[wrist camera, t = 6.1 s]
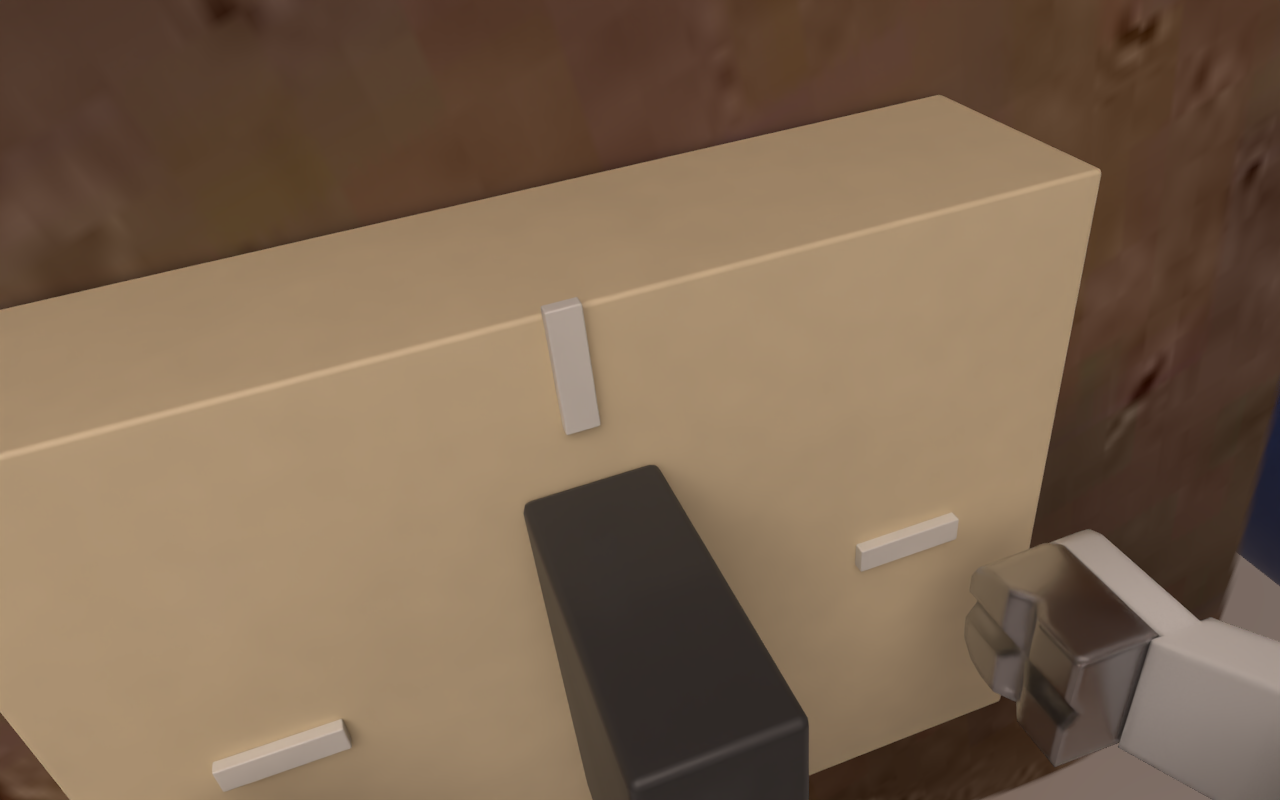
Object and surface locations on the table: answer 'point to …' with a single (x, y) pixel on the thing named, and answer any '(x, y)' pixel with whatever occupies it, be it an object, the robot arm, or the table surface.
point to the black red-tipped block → (660, 652)
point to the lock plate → (532, 459)
